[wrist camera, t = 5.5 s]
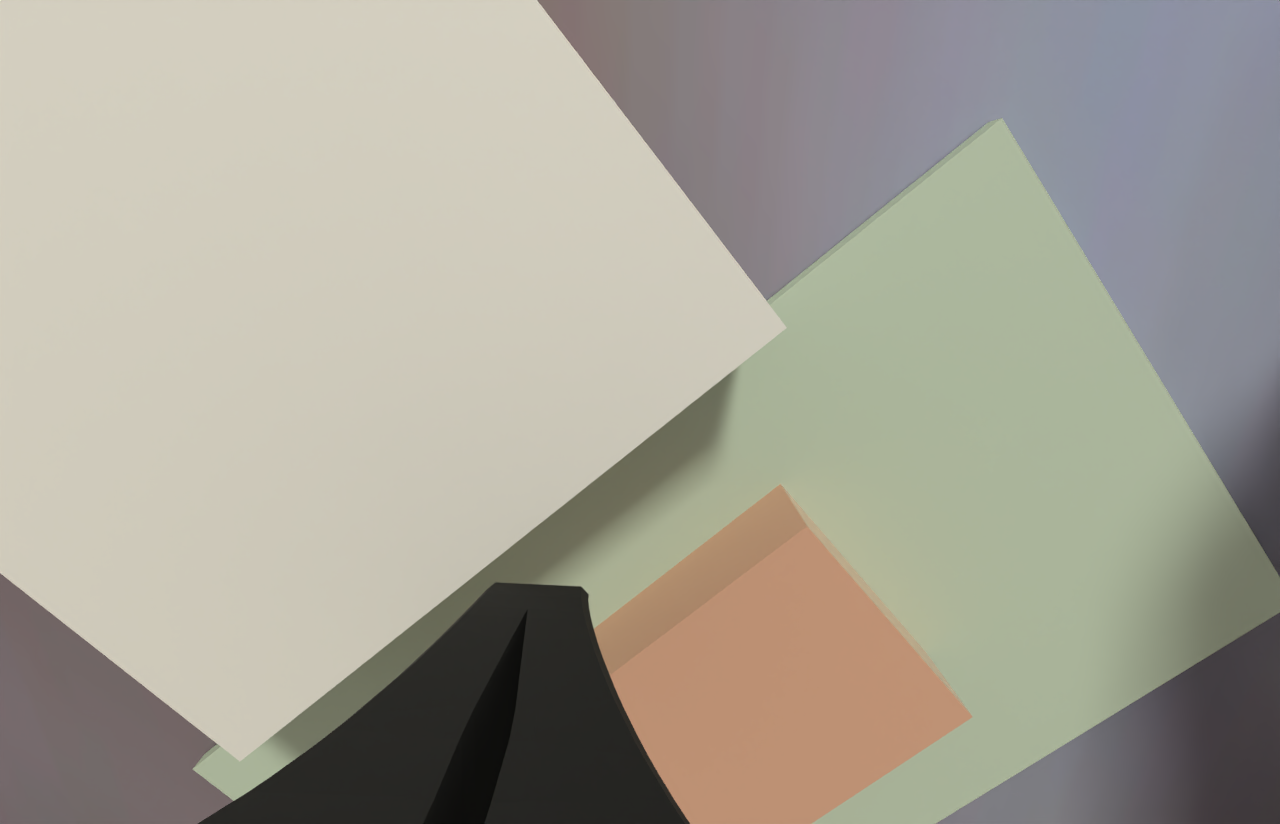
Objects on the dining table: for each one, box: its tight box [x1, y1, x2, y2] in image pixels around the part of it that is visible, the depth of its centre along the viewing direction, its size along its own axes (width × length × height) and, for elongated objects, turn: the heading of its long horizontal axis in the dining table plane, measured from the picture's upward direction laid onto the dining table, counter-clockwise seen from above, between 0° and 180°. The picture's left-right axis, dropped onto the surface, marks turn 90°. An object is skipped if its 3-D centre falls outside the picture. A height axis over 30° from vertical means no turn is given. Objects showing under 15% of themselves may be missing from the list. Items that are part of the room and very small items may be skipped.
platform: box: [0, 0, 787, 761], centre depth 9 cm, size 12×11×3 cm
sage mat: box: [193, 118, 1280, 824], centre depth 13 cm, size 12×20×1 cm, turn 130°
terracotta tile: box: [594, 484, 973, 824], centre depth 12 cm, size 5×8×2 cm, turn 131°
